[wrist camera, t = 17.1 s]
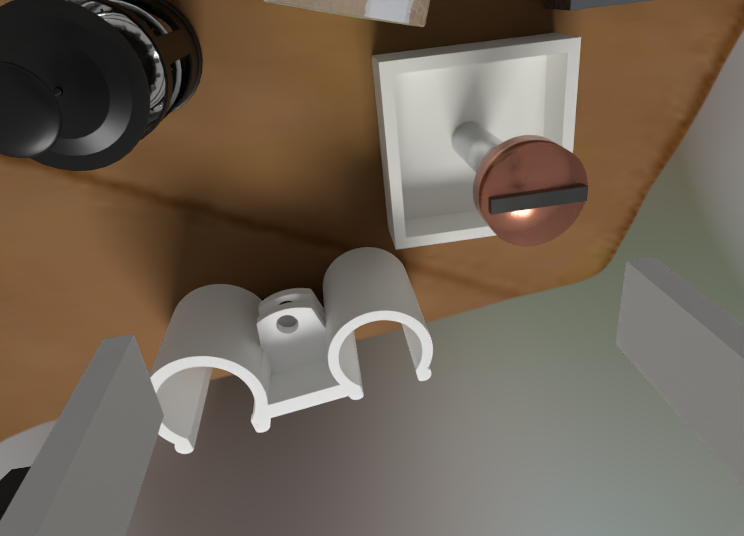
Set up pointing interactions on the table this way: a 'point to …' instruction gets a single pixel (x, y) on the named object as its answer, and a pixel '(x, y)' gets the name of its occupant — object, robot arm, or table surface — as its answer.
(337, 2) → the tea box
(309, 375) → the bracket
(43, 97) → the french press
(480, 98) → the tray
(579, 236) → the table surface
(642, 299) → the robot arm
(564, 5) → the block
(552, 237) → the copper slotted screw
